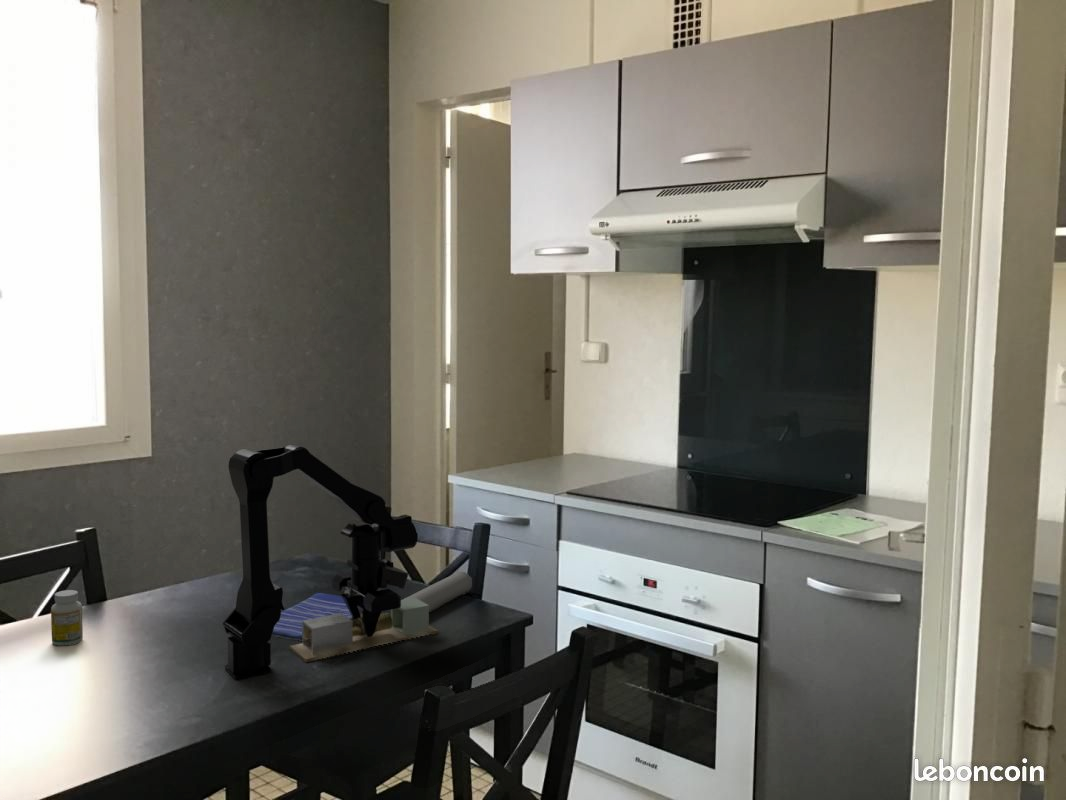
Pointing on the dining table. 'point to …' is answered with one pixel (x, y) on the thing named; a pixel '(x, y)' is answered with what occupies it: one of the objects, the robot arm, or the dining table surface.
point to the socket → (410, 617)
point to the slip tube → (358, 627)
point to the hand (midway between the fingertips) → (365, 633)
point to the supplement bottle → (66, 619)
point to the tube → (444, 590)
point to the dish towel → (308, 614)
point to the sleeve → (327, 633)
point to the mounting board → (360, 643)
